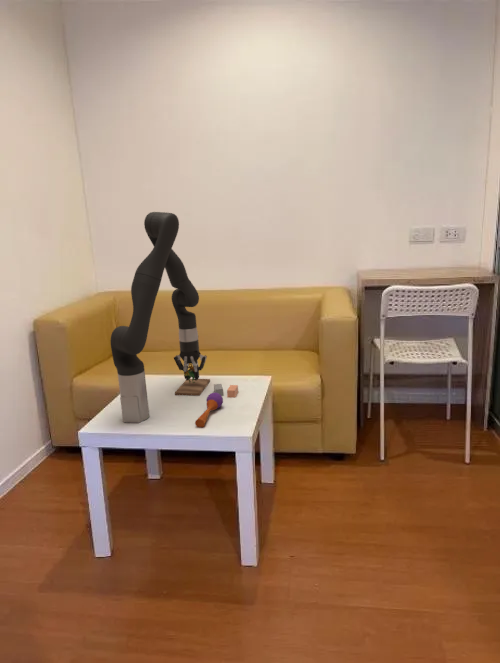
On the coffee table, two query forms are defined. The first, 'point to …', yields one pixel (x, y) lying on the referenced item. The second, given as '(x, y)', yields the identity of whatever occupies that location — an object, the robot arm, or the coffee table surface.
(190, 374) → the figurine
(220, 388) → the slate-grey brick
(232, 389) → the terracotta brick
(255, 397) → the coffee table surface
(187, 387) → the walnut board
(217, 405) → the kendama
